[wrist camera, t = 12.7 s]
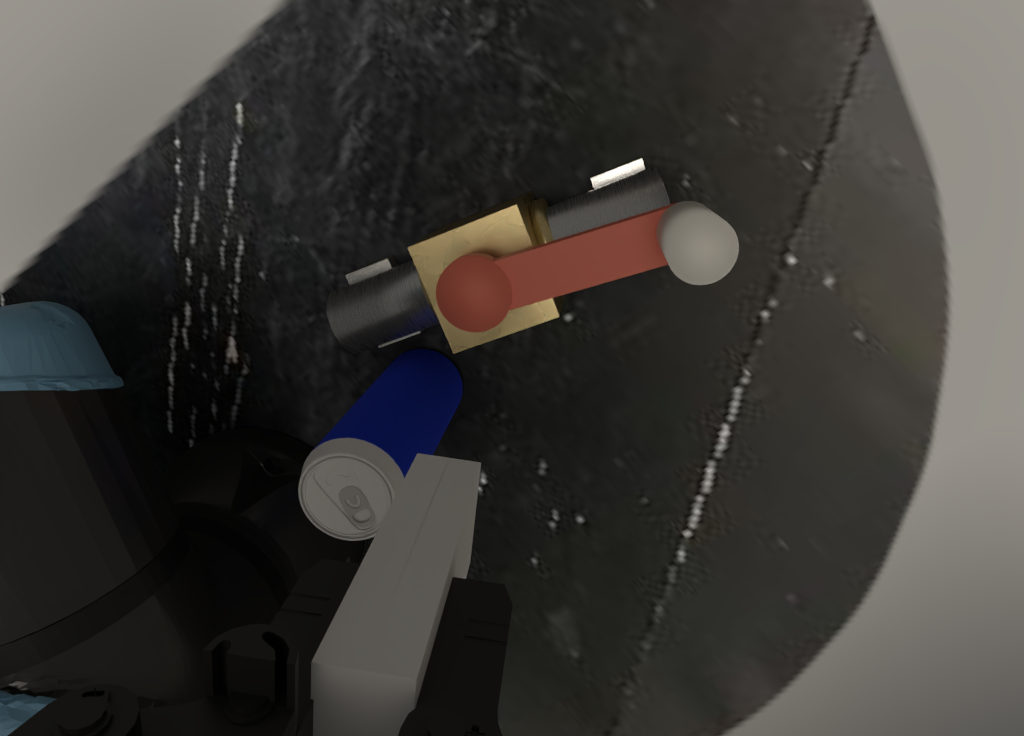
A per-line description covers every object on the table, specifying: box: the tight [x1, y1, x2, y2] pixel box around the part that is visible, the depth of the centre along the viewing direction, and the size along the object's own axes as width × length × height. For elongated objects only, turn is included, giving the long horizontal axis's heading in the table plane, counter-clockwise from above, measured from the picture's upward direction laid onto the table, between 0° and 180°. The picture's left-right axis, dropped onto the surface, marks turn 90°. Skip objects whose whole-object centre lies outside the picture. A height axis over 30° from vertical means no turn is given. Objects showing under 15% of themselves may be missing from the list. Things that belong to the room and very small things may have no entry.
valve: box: [326, 158, 670, 354], centre depth 37 cm, size 20×6×9 cm, turn 112°
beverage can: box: [298, 349, 463, 541], centre depth 38 cm, size 5×5×15 cm
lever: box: [436, 201, 739, 332], centre depth 29 cm, size 13×4×6 cm, turn 108°
